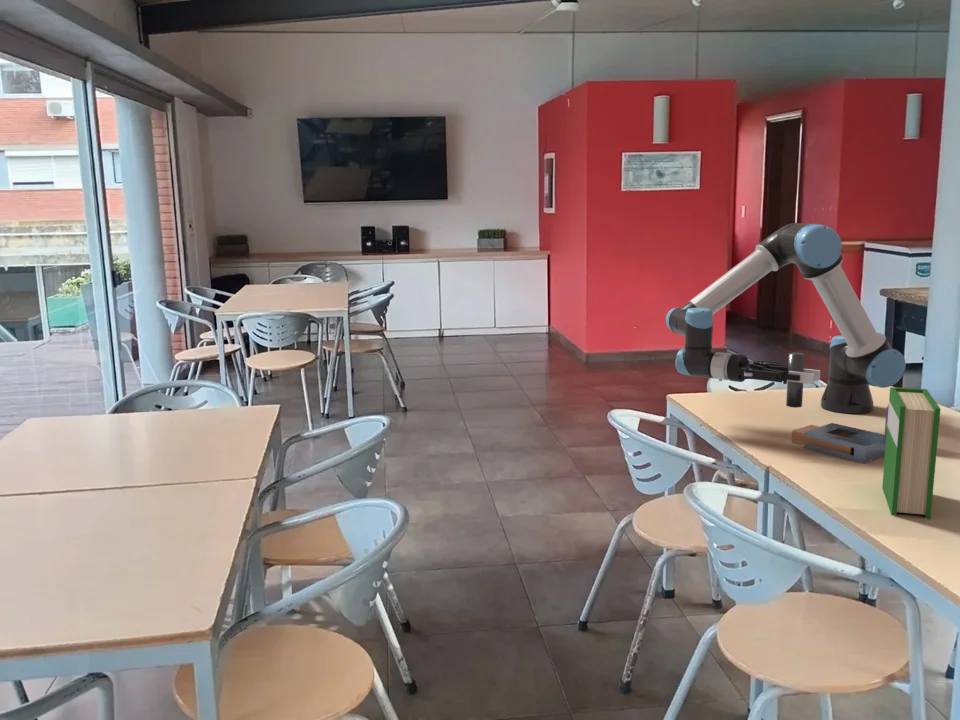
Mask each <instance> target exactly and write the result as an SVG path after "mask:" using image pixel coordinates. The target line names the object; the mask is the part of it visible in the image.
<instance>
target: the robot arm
mask: <svg viewBox="0 0 960 720" xmlns="http://www.w3.org/2000/svg"><path fill="white" fill-rule="evenodd" d="M840 237H841V236H839V234H838V233H837V231H835V230H834V229H833V228H831V227H829V226H827V225H824V224H820V223H801V222H794V223H789V224H786V225H784V226H782V227H781V228H779V229H777V230H776V231H774V232H773V233H771V234H770V235H768V236H767V237H766V238H765V239H763V240H761V242H759V243H758V244H756V246H754V247H755V250H754V251H753V252H752V253H750V254H749V255H748V256H747V257H745V258H744V259H742V260H741V261H740V262H739V263H738V264H736V265H735V266H734V267H732V268H731V269H729V270H728V271H727V272H726V273H725V274H723V275H721V277H719V278H718V279H716V280H715V281H714V282H712V284H710V285H708V287H706V288H705V289H703V290H702V291H701V292H699V293H698V294H697V295H695V296H694V297H693V298H692V299H690V300H689V301H687V302H686V303H685V304H684V305H682V306H680V307H673V308H672V309H670V310H669V311H668V312H667V313H666V315H665V324H666V326H667V328H668V329H669V330H670V331H671V332H673V333H674V334H676V335H679V336H682V337H684V338H685V339H684V348H681V349H679V350H678V352H677V354H676V357H675V362H674V363H675V368H676V369H675V370H677V373H679V374H682V375H685V376H690V377H692V378H693V377H698V378H699V377H700V378H705V379H706V378H708V379H717V380H718V381H719V382H722V381H730V382H736V383H737V382H738V383H743V382H745V380H758V381H766V382H774V383H783V385H787V380H788V381H790V382H798V383H803V384H806V385H815V381H817V382H820V381H821V370H820V369H813V368H804V372H796V371H788V364H782V363H773V362H767V361H764V360H763V361H752V362H750V361H749V358H748V356H747V355H745V354H739V353H738V354H735V353H733V354H732V353H728V352H721V351H720V352H717V351H713V334H714V332H713V331H714V330H713V328H714V315H715V313H717V312H718V311H720V310H721V309H723V308H724V307H725V306H726V305H728V304H729V303H731V302H732V301H733V300H735V298H737V297H738V296H740V295H741V294H743V293H744V292H745V291H746V290H747V289H749V288H750V287H752V286H753V285H754V284H756V283H757V282H759V281H760V280H761V279H762V278H764V277H765V276H766V275H768V274H769V273H771V272H777V271H778V270H780V269H781V268H783V267H784V266H786V265H790V264H795V265H796V267H797V268H798V270H799V272H800V274H801V275H802V277H803V279H805V280H809V281H812V284H813V285H814V287H815V289H816V291H817V292H818V295H819V296H820V298H821V300H822V302H823V303H824V305H825V307H826V309H827V310H828V313H829V314H830V315H831V317H832V320H833V321H834V324H835V325H836V327H837V329H838V331H839V332H840V334H841V335H835V336H833V337H832V338H831V341H830V344H829V362H828V363H829V364H828V380H827V384H826V387H825V389H824V391H823V393H822V396H821V399H820V407H821V408H823V409H824V410H828V411H831V412H835V413H842V414H843V413H844V414H866V413H871V412H872V411H874V399H873V396H872V393H871V392H872V391H871V389H870V386H872V387H877V388H880V389H881V388H882V389H883V388H890V387H892V386H894V385H895V384H897V383H898V382H899V381H900V379H902V377H903V376H904V372H905V370H906V359H905V357H904V356H905V355H903V354H902V353H901V352H900V351H899V350H897V349H895V348H893V347H892V346H891V344H890V343H889V341H888V339H887V337H886V335H885V334H884V333H881V332H878V331H877V330H876V329H875V326H874V325H873V323H872V321H871V319H870V317H869V316H868V314H867V312H866V309H864V307H863V304H862V303H861V301H860V299H859V298H858V295H857V293H856V292H855V290H854V288H853V286H852V285H851V282H850V281H849V278H848V277H847V275H846V273H845V271H844V269H843V268H842V263H843V261H844V258H843V255H842V249H843V246H842V245H843V244H842V240H841V238H840Z"/></svg>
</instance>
